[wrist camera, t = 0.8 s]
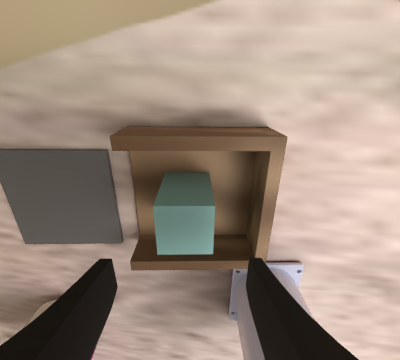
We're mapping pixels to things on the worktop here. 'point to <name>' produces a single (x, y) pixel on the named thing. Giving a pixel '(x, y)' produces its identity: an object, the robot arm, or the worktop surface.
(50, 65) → the worktop surface
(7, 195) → the slate mat
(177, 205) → the block
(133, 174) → the walnut box
